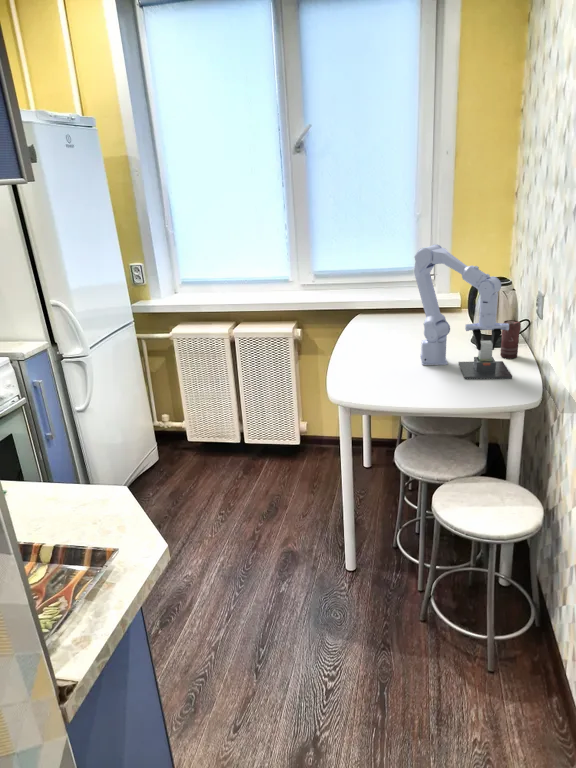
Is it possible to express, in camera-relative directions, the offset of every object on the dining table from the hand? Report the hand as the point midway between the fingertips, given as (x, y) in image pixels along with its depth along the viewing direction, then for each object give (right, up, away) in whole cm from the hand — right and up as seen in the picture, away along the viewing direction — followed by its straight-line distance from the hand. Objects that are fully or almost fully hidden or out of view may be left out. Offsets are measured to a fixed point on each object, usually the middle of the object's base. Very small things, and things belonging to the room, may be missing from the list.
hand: (485, 349), depth 202 cm
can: (+15, -2, +16) cm, 22 cm away
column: (0, -5, +2) cm, 5 cm away
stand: (0, -8, +3) cm, 8 cm away
